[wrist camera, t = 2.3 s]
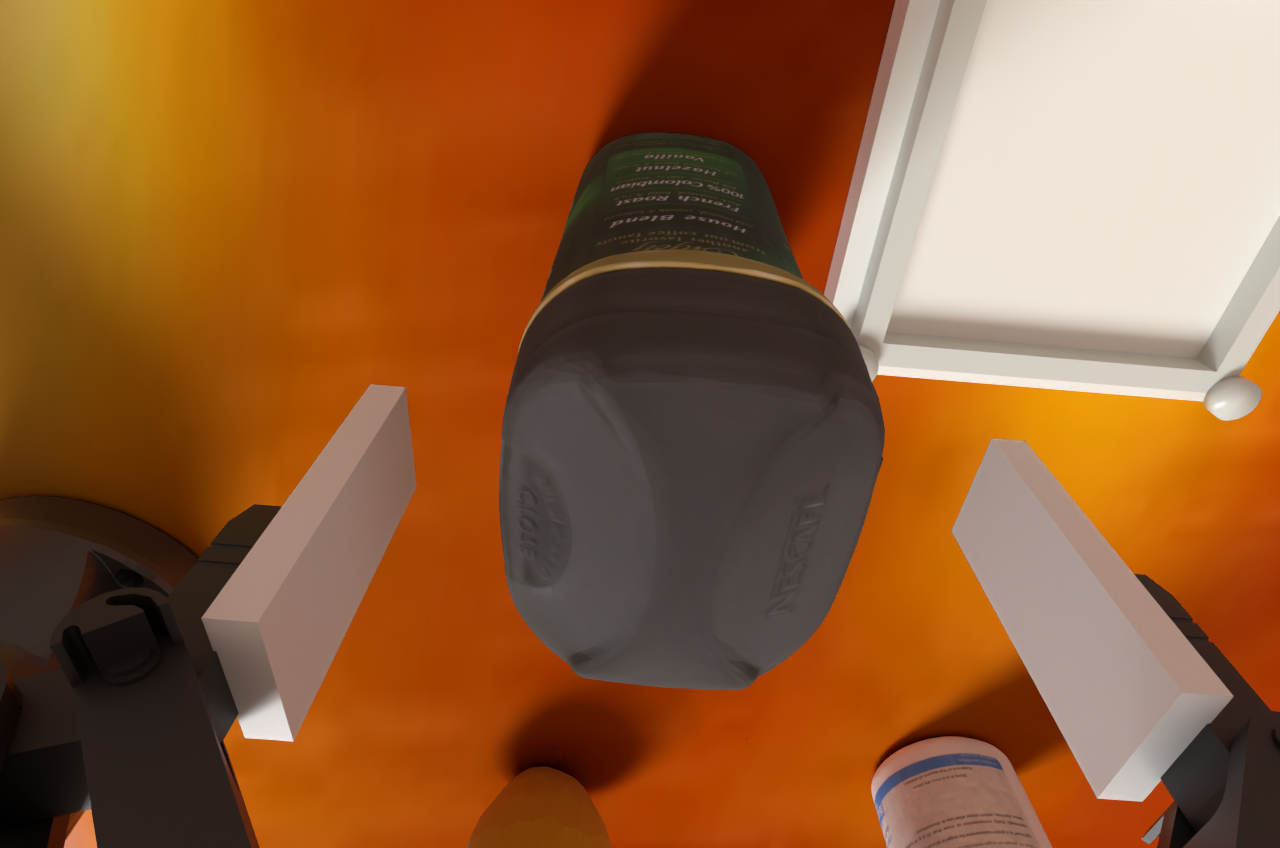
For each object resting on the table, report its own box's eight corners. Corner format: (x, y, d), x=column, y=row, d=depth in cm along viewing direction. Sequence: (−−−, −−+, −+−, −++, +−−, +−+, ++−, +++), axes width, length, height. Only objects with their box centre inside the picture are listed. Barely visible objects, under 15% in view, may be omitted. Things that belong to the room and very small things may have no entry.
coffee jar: (572, 118, 26) (460, 314, 10) (780, 137, 26) (984, 356, 10) (565, 350, 31) (483, 719, 15) (740, 364, 31) (835, 739, 16)
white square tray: (809, 354, 31) (825, 389, 28) (935, -165, 21) (978, -188, 19) (1194, 386, 32) (1247, 424, 29) (1480, -101, 22) (1601, -114, 19)
